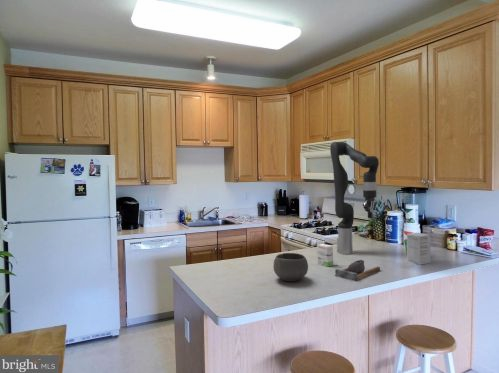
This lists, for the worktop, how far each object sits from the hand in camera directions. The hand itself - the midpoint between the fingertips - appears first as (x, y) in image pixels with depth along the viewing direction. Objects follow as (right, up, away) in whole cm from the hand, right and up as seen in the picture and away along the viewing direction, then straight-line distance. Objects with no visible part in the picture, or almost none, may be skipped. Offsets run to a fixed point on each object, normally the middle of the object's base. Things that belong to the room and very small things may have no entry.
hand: (370, 218), depth 204 cm
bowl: (-51, -30, -26) cm, 64 cm away
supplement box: (+29, -27, -1) cm, 39 cm away
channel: (-13, -28, -18) cm, 36 cm away
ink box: (-27, -28, 0) cm, 39 cm away
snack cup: (+32, -26, +13) cm, 43 cm away
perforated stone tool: (-15, -29, -21) cm, 39 cm away
